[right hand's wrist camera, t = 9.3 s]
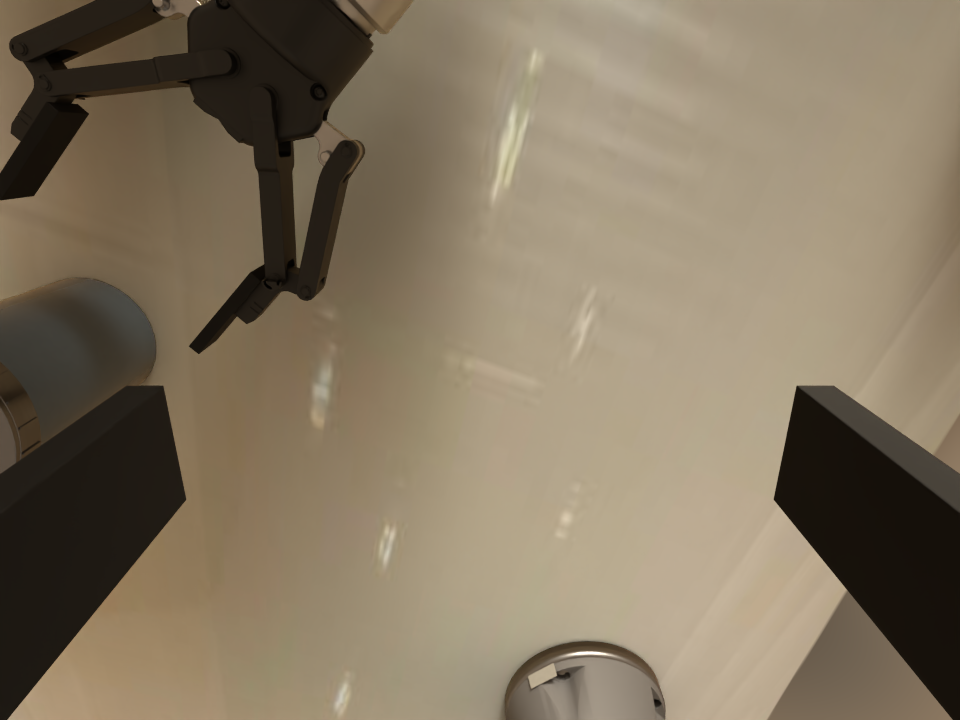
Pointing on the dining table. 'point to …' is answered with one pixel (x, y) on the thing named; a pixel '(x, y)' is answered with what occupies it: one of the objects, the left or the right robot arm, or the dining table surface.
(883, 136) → the dining table surface
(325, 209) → the left robot arm
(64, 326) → the jar
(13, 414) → the lid
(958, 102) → the dining table surface
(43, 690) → the dining table surface
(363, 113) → the dining table surface
